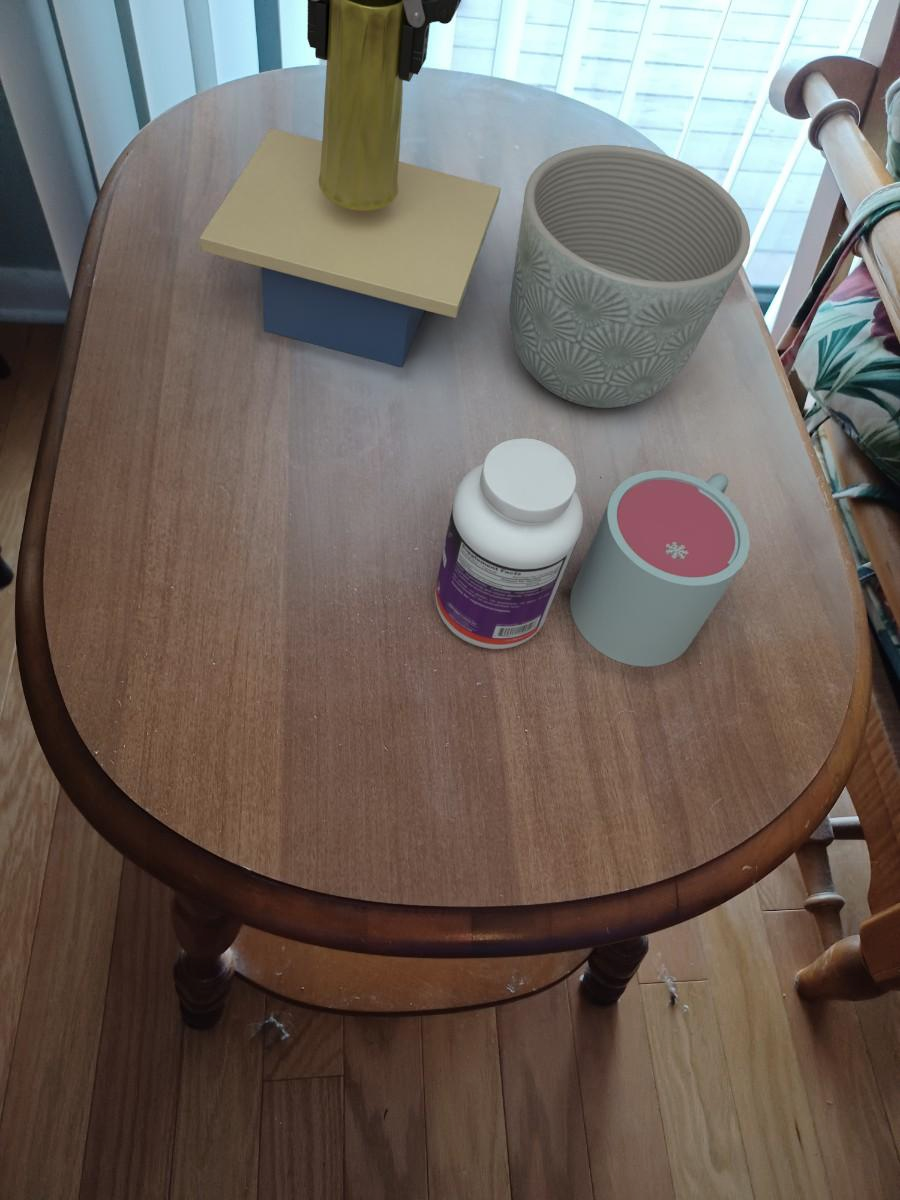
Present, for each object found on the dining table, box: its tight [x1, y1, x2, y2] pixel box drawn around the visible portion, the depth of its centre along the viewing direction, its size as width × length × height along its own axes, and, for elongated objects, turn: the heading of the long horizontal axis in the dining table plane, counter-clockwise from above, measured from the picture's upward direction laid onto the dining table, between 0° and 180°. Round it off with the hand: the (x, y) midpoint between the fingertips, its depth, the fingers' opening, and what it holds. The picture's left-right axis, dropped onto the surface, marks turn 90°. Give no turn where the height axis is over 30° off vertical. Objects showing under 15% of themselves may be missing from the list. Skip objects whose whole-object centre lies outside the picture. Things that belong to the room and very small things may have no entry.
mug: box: [569, 469, 751, 668], centre depth 65 cm, size 14×9×10 cm
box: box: [199, 127, 501, 368], centre depth 79 cm, size 20×16×9 cm
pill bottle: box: [434, 437, 584, 650], centre depth 61 cm, size 8×8×14 cm
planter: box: [508, 144, 751, 409], centre depth 76 cm, size 17×17×15 cm
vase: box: [318, 0, 407, 210], centre depth 67 cm, size 6×6×14 cm
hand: (365, 63), depth 66 cm, fingers closed on vase, 5 cm apart
